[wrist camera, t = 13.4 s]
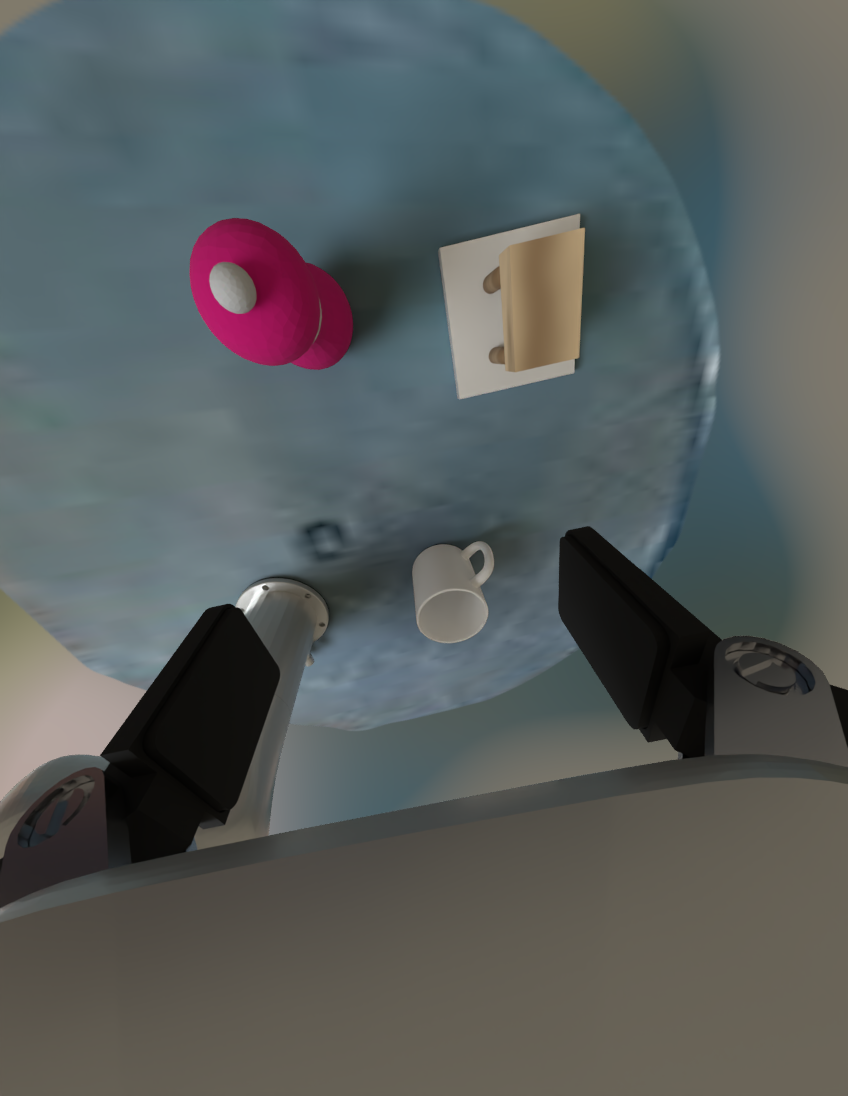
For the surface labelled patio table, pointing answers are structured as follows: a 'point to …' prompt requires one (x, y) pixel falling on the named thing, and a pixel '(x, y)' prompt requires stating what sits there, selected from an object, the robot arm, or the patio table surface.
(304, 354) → the pepper mill
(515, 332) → the pegged wooden block
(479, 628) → the cup
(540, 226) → the tile
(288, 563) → the patio table surface
